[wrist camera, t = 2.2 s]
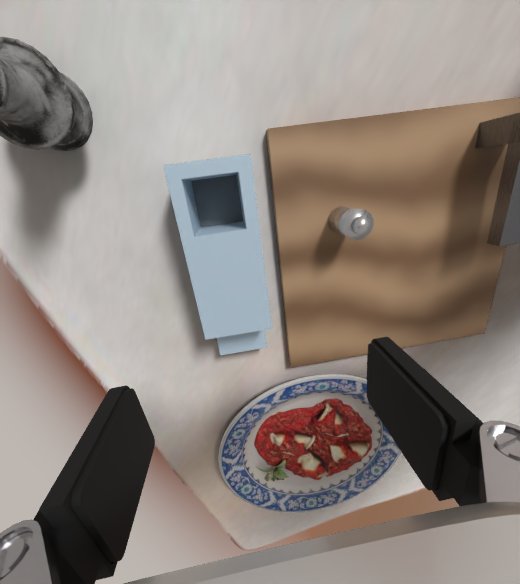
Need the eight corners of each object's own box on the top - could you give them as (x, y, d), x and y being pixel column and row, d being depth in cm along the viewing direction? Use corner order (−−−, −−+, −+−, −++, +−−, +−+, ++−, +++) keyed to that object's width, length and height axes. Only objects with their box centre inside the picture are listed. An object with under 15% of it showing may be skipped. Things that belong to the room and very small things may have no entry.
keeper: (479, 122, 22) (531, 109, 19) (511, 118, 23) (570, 104, 19) (459, 237, 26) (499, 246, 22) (487, 233, 26) (531, 241, 23)
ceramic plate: (373, 331, 31) (387, 345, 28) (412, 456, 41) (425, 475, 38) (182, 415, 33) (178, 436, 30) (264, 516, 43) (267, 539, 40)
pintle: (327, 208, 24) (349, 212, 20) (352, 204, 24) (379, 208, 20) (328, 234, 25) (348, 244, 20) (352, 230, 25) (378, 239, 21)
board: (266, 131, 22) (267, 128, 21) (530, 98, 23) (543, 94, 22) (289, 362, 31) (291, 367, 30) (477, 329, 32) (484, 333, 31)
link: (269, 336, 29) (276, 364, 25) (216, 345, 29) (214, 375, 24) (246, 160, 22) (250, 153, 18) (176, 169, 22) (162, 165, 18)
